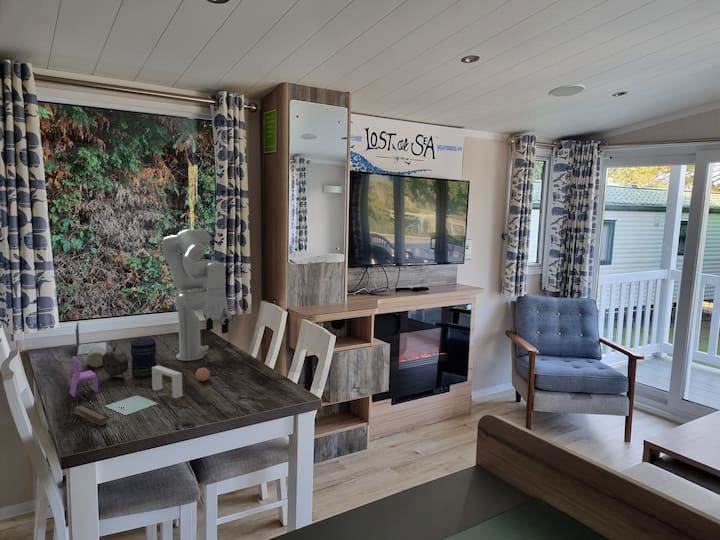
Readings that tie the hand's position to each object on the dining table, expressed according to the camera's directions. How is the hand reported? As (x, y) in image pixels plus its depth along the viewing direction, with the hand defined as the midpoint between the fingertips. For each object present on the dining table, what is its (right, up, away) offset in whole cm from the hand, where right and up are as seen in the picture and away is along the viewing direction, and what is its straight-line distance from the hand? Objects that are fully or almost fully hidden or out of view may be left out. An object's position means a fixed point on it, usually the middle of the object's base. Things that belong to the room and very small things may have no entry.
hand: (217, 331), depth 216 cm
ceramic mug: (-56, -17, +11) cm, 59 cm away
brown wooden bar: (-31, -25, -44) cm, 59 cm away
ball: (-5, -17, -6) cm, 19 cm away
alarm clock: (-41, -19, -5) cm, 46 cm away
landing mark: (-22, -23, -32) cm, 45 cm away
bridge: (-14, -22, -19) cm, 32 cm away
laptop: (-72, -13, +34) cm, 81 cm away
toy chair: (-45, -21, -21) cm, 54 cm away
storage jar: (-31, -19, -1) cm, 36 cm away
